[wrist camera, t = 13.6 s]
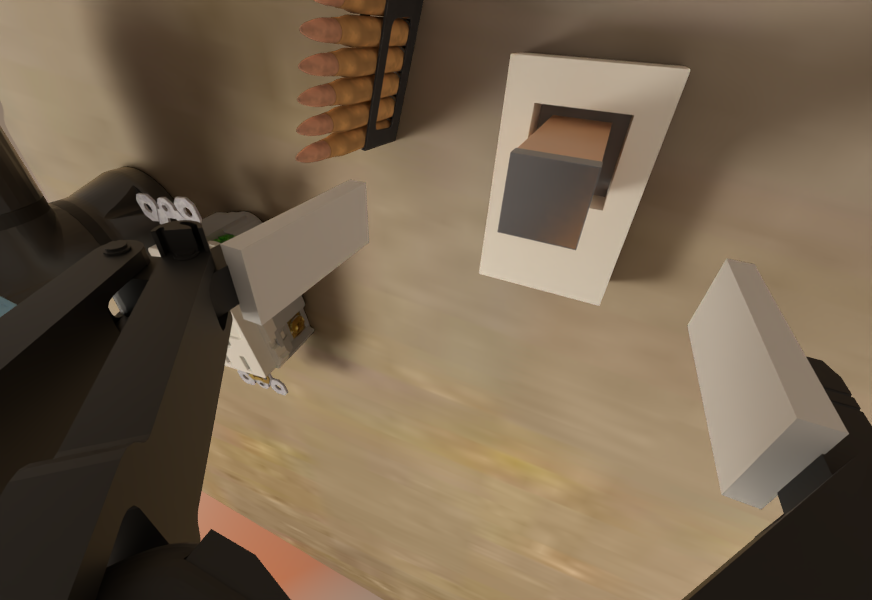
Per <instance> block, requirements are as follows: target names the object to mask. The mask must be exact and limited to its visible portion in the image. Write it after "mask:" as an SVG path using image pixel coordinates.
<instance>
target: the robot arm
mask: <svg viewBox="0 0 872 600" xmlns="http://www.w3.org/2000/svg"><path fill="white" fill-rule="evenodd" d="M138 193H145V194H148V195H149V196H151V197H152V198H153V199H154V200H155V201H156V203H157V200H158V198H159V197H166V198H167V199H169V200H170V201H171V202H172V203H173V204H174V200H173V199H172V197H171V196H170V195H169V194H168V193H167V192H166V191H165V189H164V188H163V187H162V186H160V185H159V184H158V183H157V182H156V181H155V180H154V179H152V178H151V177H150V176H148V175H147V174H145V173H143V172H142V171H140V170H137V169H135V168H131V167H122V168H118V169H114V170H110V171H107V172H104V173H102V174H101V175H99V176H98V177H96V178H95V179H93V180H92V181H90V182H89V183H88V184H86V185H85V186H83V187H82V188H80V189H79V190H77V191H76V192H74V193H73V194H72V195H70V196H69V197H67V198H64V199H61V200H58V201H54V202H51V203H47V201H46V199H45V198H44V196H43V194H42V193H41V191H40V189H39V188H38V186H37V184H36V183H35V181H34V180H33V178H32V176H31V175H30V173H29V171H28V170H27V168H26V167H25V165H24V164H23V162H22V160H21V159H20V157H19V156H18V154H17V152H16V151H15V149H14V147H13V146H12V144H11V142H10V141H9V139H8V137H7V136H6V134H5V133H4V131H3V129H2V128H1V126H0V600H290V599H289V597H288V596H287V595H286V593H285V592H284V591H283V590H282V588H281V587H280V586H279V585H278V583H277V582H276V581H275V579H274V578H273V577H272V576H271V574H270V573H269V572H268V570H267V569H266V568H265V567H264V565H263V564H262V563H261V562H260V560H259V559H258V558H257V557H256V555H254V554H253V553H251V552H249V551H248V550H246V549H244V548H243V547H241V546H239V545H237V544H236V543H234V542H232V541H231V540H229V539H227V538H226V537H224V536H222V535H220V534H219V533H217V532H216V531H214V530H212V529H211V530H210V531H209V532H208V534H207V535H206V536H205V537H204V538H203V540H202V541H201V542H200V533H199V527H198V506H199V501H200V496H201V491H202V485H203V480H204V474H205V469H206V463H207V458H208V453H209V447H210V442H211V436H212V431H213V425H214V420H215V414H216V409H217V404H218V398H219V393H220V387H221V382H222V376H223V371H224V365H225V360H226V355H227V349H228V344H229V338H230V333H231V327H232V322H233V317H232V313H231V309H233V308H234V307H236V306H237V305H238V304H239V306H240V309H241V313H242V316H243V319H245V320H248V321H250V322H253V323H256V324H259V325H261V326H262V325H263V324H265V323H266V322H267V321H268V320H270V319H271V318H272V317H274V316H275V315H276V314H278V313H279V312H280V311H281V310H283V309H284V308H285V307H287V306H288V305H289V304H290V303H292V302H293V301H294V300H296V299H297V298H298V297H299V296H301V295H302V294H303V293H305V292H306V291H307V290H308V289H310V288H311V287H312V286H314V285H315V284H316V283H317V282H319V281H320V280H321V279H323V278H324V277H325V276H326V275H328V274H329V273H330V272H332V271H333V270H334V269H335V268H337V267H338V266H339V265H341V264H342V263H343V262H344V261H346V260H347V259H348V258H350V257H351V256H352V255H353V254H355V253H356V252H357V251H359V250H360V249H361V248H362V247H364V246H365V245H366V244H368V243H369V233H368V214H367V195H366V183H365V182H360V181H356V180H351V179H350V180H348V181H346V182H344V183H342V184H340V185H338V186H336V187H334V188H332V189H330V190H328V191H326V192H324V193H322V194H320V195H318V196H316V197H314V198H312V199H310V200H308V201H306V202H304V203H302V204H300V205H298V206H296V207H294V208H292V209H290V210H288V211H286V212H284V213H282V214H280V215H278V216H276V217H274V218H272V219H270V220H268V221H266V222H264V223H261V224H259V225H257V226H255V227H253V228H251V229H250V230H247V231H245V232H243V233H241V234H240V235H237V236H235V237H233V238H231V239H229V240H227V241H225V242H223V243H221V244H219V245H217V246H215V247H213V248H211V249H210V247H209V244H208V241H207V238H206V235H205V232H204V229H203V226H202V224H201V223H199V222H197V221H192V220H179V221H177V219H173V218H170V220H171V222H168V223H164V224H160V221H159V222H158V221H152V220H151V219H150V218H148V217H147V216H146V215H145V214H144V212H143V211H142V209H141V207H140V206H139V204H138V202H137V200H136V194H138ZM157 205H158V204H157ZM146 206H147V207H148V209H149V210H151V211H152V209H151V207H150V206H149V205H148V204H146ZM164 206H165V205H164ZM174 206H175V205H174ZM165 208H166V206H165ZM175 208H176V207H175ZM166 209H167V208H166ZM155 244H156V246H157V249H158V251H159V253H160V256H161V257H156V256H151V254H150V253H149V251H148V248H149V247H151V246H153V245H155ZM112 297H113V299H114V301H115V302H116V304H117V306H118V308H119V310H120V312H119V313H118V314H117V315H115V316H113V315H112V314H111V312H110V310H109V308H108V305H109V301H110V299H111V298H112ZM687 326H688V331H689V336H690V341H691V346H692V351H693V356H694V361H695V366H696V371H697V376H698V380H699V385H700V390H701V395H702V400H703V405H704V410H705V415H706V420H707V425H708V430H709V435H710V440H711V445H712V450H713V455H714V459H715V464H716V469H717V474H718V479H719V484H720V489H721V494H722V495H724V496H726V497H729V498H732V499H734V500H737V501H740V502H743V503H745V504H748V505H751V506H753V507H756V508H759V509H762V508H764V507H765V506H766V505H767V504H768V503H769V502H770V501H772V500H773V499H774V498H775V497H776V496H777V495H778V497H779V500H780V503H781V506H782V509H783V512H784V514H783V515H782V516H780V517H779V518H778V519H777V520H775V521H774V522H773V523H772V524H770V525H769V526H768V527H767V528H765V529H764V530H763V531H762V532H760V533H759V534H758V535H757V536H755V538H754V539H753V540H752V541H751V542H749V543H748V544H747V545H746V546H745V547H743V548H742V549H741V550H740V551H739V552H738V553H736V554H735V555H734V556H733V557H732V558H731V559H729V560H728V561H727V562H726V563H725V564H723V565H722V566H721V567H720V568H719V569H718V570H716V571H715V572H714V573H713V574H712V575H710V576H709V577H708V578H707V579H706V580H705V581H703V582H702V583H701V584H700V585H699V586H697V587H696V588H695V589H694V590H693V591H692V592H690V593H689V594H688V595H687V596H686V597H684V598H683V599H682V600H872V426H871V424H870V423H869V421H868V419H867V418H866V416H865V415H864V413H863V412H861V411H860V409H861V408H860V407H859V405H858V403H857V402H856V400H855V399H854V398H853V397H851V395H852V394H851V392H850V391H849V389H848V388H847V386H846V384H845V383H844V381H843V380H842V378H841V377H840V376H839V375H838V374H837V373H835V372H834V371H833V370H832V369H831V368H830V367H829V366H828V365H826V364H825V363H824V362H823V361H821V360H817V359H814V358H810V357H806V356H805V354H804V352H803V350H802V349H801V347H800V345H799V343H798V341H797V340H796V338H795V336H794V334H793V332H792V331H791V329H790V327H789V325H788V323H787V322H786V320H785V318H784V316H783V314H782V313H781V311H780V309H779V307H778V305H777V304H776V302H775V300H774V298H773V297H772V295H771V293H770V291H769V289H768V288H767V286H766V284H765V282H764V280H763V279H762V277H761V275H760V273H759V271H758V270H757V268H756V266H755V264H751V263H746V262H742V261H737V260H732V259H727V258H726V260H725V262H724V263H723V265H722V267H721V268H720V270H719V272H718V274H717V275H716V277H715V279H714V280H713V282H712V284H711V286H710V287H709V289H708V291H707V293H706V294H705V296H704V298H703V299H702V301H701V303H700V305H699V306H698V308H697V310H696V311H695V313H694V315H693V317H692V318H691V320H690V322H689V324H688V325H687Z"/></svg>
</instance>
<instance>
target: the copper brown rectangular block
mask: <svg viewBox="0 0 872 600" xmlns="http://www.w3.org/2000/svg"><path fill="white" fill-rule="evenodd" d="M611 126H612V123H610V122H602V121H595V120H587V119H579V118H572V117H564V116H557V115H553V116H551V117H550V118H549V119H548V120H547V121H546V122H545V123H544V124H543V125H542V126H541V127H540V128H538V129H537V130H536V131H535V132H534V133H533V134H532V135H531V136H530V137H529V138H528V139H527V140H525V141H524V142H523V143H522V144H521V145H520V146H519V147H518V148H515V149H514V150H512V151H511V152H510V158H509V164H508V170H507V176H506V182H505V188H504V195H503V201H502V207H501V213H500V219H499V225H498V231H497V232H499V233H503V234H508V235H512V236H516V237H521V238H525V239H529V240H534V241H538V242H542V243H547V244H551V245H555V246H560V247H564V248H568V249H572V250H576V249H577V246H578V243H579V239H580V236H581V233H582V230H583V226H584V223H585V220H586V217H587V213H588V210H589V207H590V204H591V200H592V197H593V194H594V191H595V187H596V184H597V181H598V178H599V175H600V171H601V168H602V164H603V162H602V160H603V156H604V152H605V148H606V145H607V141H608V137H609V134H610V130H611Z"/></svg>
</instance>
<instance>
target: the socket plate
mask: <svg viewBox="0 0 872 600" xmlns="http://www.w3.org/2000/svg"><path fill="white" fill-rule="evenodd" d="M690 71H691V69H689V68H687V67H685V66H682V65H670V64H659V63H647V62H635V61H623V60H612V59H600V58H588V57H576V56H564V55H553V54H541V53H529V52H522V53H513V54H511V56H510V63H509V69H508V76H507V83H506V90H505V97H504V104H503V111H502V118H501V125H500V132H499V139H498V146H497V152H496V159H495V166H494V173H493V180H492V187H491V194H490V201H489V208H488V215H487V222H486V229H485V236H484V242H483V249H482V256H481V263H480V270H479V274H482V275H486V276H490V277H493V278H497V279H501V280H505V281H508V282H512V283H516V284H519V285H523V286H527V287H531V288H534V289H538V290H542V291H546V292H549V293H553V294H557V295H560V296H564V297H568V298H572V299H575V300H579V301H583V302H586V303H590V304H594V305H598V306H599V305H600V303H601V300H602V298H603V295H604V293H605V290H606V287H607V285H608V282H609V280H610V277H611V274H612V272H613V269H614V267H615V264H616V262H617V259H618V256H619V254H620V251H621V249H622V246H623V244H624V241H625V238H626V236H627V233H628V231H629V228H630V225H631V223H632V220H633V218H634V215H635V213H636V210H637V207H638V205H639V202H640V200H641V197H642V194H643V192H644V189H645V187H646V184H647V182H648V179H649V176H650V174H651V171H652V169H653V166H654V163H655V161H656V158H657V156H658V153H659V151H660V148H661V145H662V143H663V140H664V138H665V135H666V133H667V130H668V127H669V125H670V122H671V120H672V117H673V114H674V112H675V109H676V107H677V104H678V102H679V99H680V96H681V94H682V91H683V89H684V86H685V83H686V81H687V78H688V76H689V73H690ZM553 115H557V116H564V117H572V118H579V119H587V120H595V121H602V122H610V123H612V126H611V130H610V134H609V137H608V141H607V145H606V148H605V152H604V156H603V160H602V162H603V164H602V168H601V171H600V175H599V178H598V181H597V184H596V187H595V191H594V194H593V197H592V200H591V204H590V207H589V210H588V213H587V217H586V220H585V223H584V226H583V230H582V233H581V236H580V239H579V243H578V246H577V249H576V250H572V249H568V248H564V247H560V246H555V245H551V244H547V243H542V242H538V241H534V240H529V239H525V238H521V237H516V236H512V235H508V234H503V233H499V232H497V231H498V225H499V219H500V213H501V207H502V201H503V195H504V188H505V182H506V176H507V170H508V164H509V158H510V152H511V151H512V150H514V149H515V148H518V147H519V146H520V145H521V144H522V143H523V142H524V141H525V140H527V139H528V138H529V137H530V136H531V135H532V134H533V133H534V132H535V131H536V130H537V129H538V128H540V127H541V126H542V125H543V124H544V123H545V122H546V121H547V120H548V119H549V118H550V117H551V116H553Z"/></svg>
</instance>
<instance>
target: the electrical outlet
mask: <svg viewBox="0 0 872 600" xmlns="http://www.w3.org/2000/svg"><path fill="white" fill-rule="evenodd" d="M136 200H137V202H138V204H139V206H140V207H141V209H142V211H143V212H144V214H145V215H146V216H147V217H148V218H150V219H151V220H152V221H158V222H159V221H160V224H164V223H168V222H171V220H170V218H173V219H177V221H179V220H192V221H197V222H199V223H201V224H202V226H203V229H204V232H205V235H206V238H207V241H208V244H209V247H210V249H211V248H213V247H215V246H217V245H219V244H221V243H223V242H225V241H227V240H229V239H231V238H233V237H235V236H237V235H240V234H241V233H243V232H245V231H247V230H250V229H251V228H253V227H255V226H257V225H259V224H261V223H262V222H261V221H260V219H259V218H257V217H256V216H255V215H253V214H251V213H249V212H244V211H242V212H230V213H221V212H216V213H214V214H212V215H210V216H208V217H206V218H204V219H202V218H201V216H200V214H199V212H198V210H197V208H196V206H195V204H194V203H193V202H192V201H191V200H189V199H188V198H187V197H178V196H177V197H175V200H174V204H173V203H172V202H171V201H170V200H169V199H167V198H166V197H159V198H158V200H157V203H156V201H155V200H154V199H153V198H152V197H151V196H149V195H148V194H145V193H138V194H136ZM146 204H148V205H149V206H150V207H151V209H152V211H151V210H149V209H148V207H147V206H146ZM157 204H158V205H157ZM164 205H165V206H166V208H167V209H166V208H165V206H164ZM174 205H175V206H174ZM175 207H176V208H175ZM186 208H188V209H189V210H190V211H191V213H192V216H191V215H189V214H188V213H187V211H186ZM148 251H149V253H150V254H151V256H156V257H161V256H160V253H159V251H158V249H157V246H156V244H155V245H153V246H151V247H149V248H148ZM304 306H305V303H304V300H303V298H302V295H301V296H299V297H298V298H297V299H296V300H294V301H293V302H292V303H290V304H289V305H288V306H287V307H285V308H284V309H283V310H281V311H280V312H279V313H278V314H276V315H275V316H274V317H272V318H271V319H270V320H268V321H267V322H266V323H265V324H263V325H262V326H261V325H259V324H256V323H253V322H250V321H248V320H245V319H243V316H242V313H241V309H240V306H239V304H238V305H237V306H236V307H234V308H233V309H231V313H232V317H233V322H232V327H231V333H230V338H229V344H228V349H227V355H226V360H225V365H224V366H228V367H231V368H234V369H237V370H238V371H237V372H238V373H239V375H240V377H241V378H242V379H243V380H244V381H245V382H246V383H248V384H251V385H254V384H255V383H256V382H257V383H258V384H259V385H260V386H262V387H263V388H266V389H268V388H269V387H270V385H271V387H272V389H273V390H275V391H276V392H277V393H279V394H282V395H286V394H287V393H288V390H287V388H286V386H285V384H283V383H282V382H281V381H280V380H278V379H275V378H273V377H272V376H271V374H270V373H271V372H272V371H273V370H274V369H275V368H280V367H281V366H282V365H283V364H284V363H285V362H286V361H287V360H288V359H289V358H290V357H291V356H292V355H293V354H294V353H295V352H296V351H297V350H298V349H299V347H300V346H301V345H302V344H303V343H304V342H305V341H306V340H307V338H308V337H309V336H310V335H311V334H312V333H313V332H314V329H313V328H312V327H310V325H309V322H308V319H307V317H306V314H305V312H304V309H303V307H304ZM245 375H246V376H247V377H248V378H247V377H246V376H245ZM277 385H278V386H280V387H281V389H280V388H279V387H278V386H277Z"/></svg>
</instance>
